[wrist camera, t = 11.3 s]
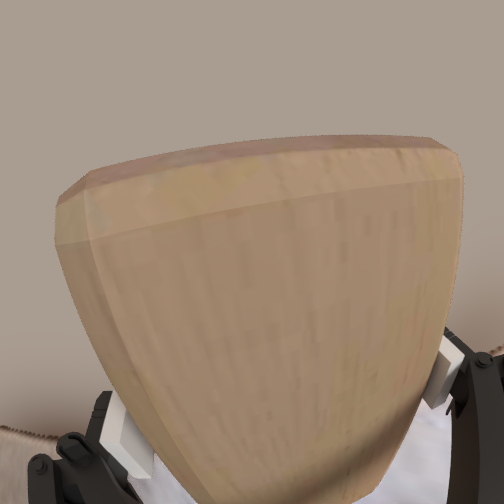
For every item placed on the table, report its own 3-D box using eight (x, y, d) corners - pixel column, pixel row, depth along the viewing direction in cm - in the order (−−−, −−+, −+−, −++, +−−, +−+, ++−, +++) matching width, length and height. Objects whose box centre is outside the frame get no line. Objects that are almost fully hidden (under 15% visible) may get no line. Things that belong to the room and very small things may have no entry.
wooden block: (317, 404, 21) (308, 143, 15) (381, 489, 12) (474, 141, 6) (201, 440, 19) (115, 172, 12) (236, 547, 10) (19, 190, 3)
